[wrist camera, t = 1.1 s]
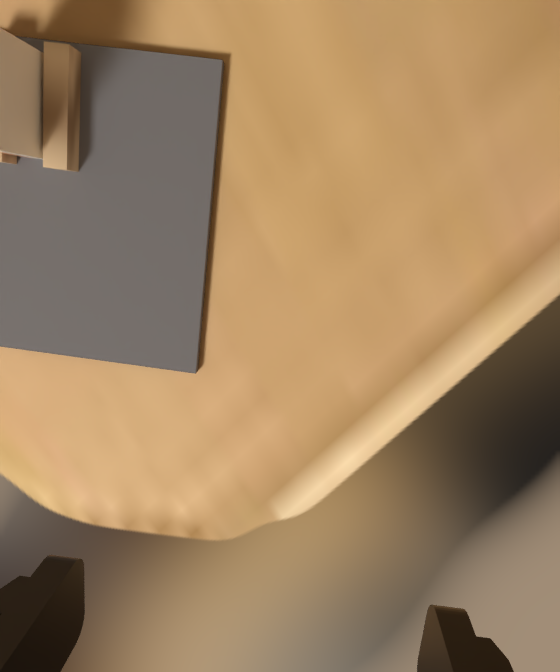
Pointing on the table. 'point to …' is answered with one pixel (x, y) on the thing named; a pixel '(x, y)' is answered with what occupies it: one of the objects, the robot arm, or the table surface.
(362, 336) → the table surface
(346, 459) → the table surface
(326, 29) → the table surface
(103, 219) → the mat
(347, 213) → the table surface
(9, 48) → the tile
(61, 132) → the slot stand
